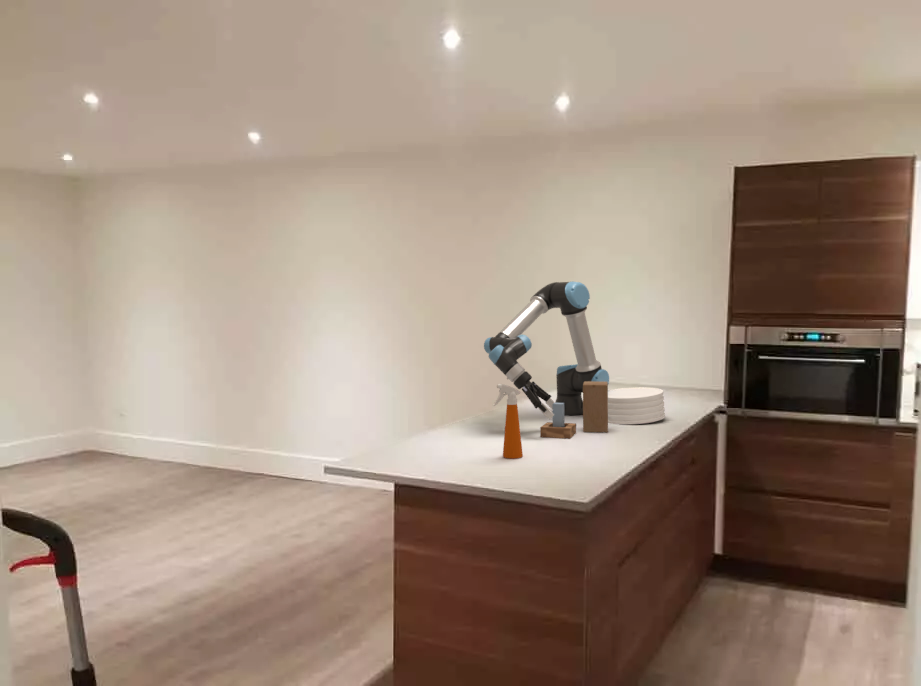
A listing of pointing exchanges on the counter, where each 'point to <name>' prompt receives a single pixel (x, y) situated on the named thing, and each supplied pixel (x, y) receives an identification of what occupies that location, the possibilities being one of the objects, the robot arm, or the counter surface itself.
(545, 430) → the square wooden frame
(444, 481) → the counter surface
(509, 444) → the spray bottle
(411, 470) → the counter surface
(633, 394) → the plate stack
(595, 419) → the wooden block
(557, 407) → the tall blue pillar
